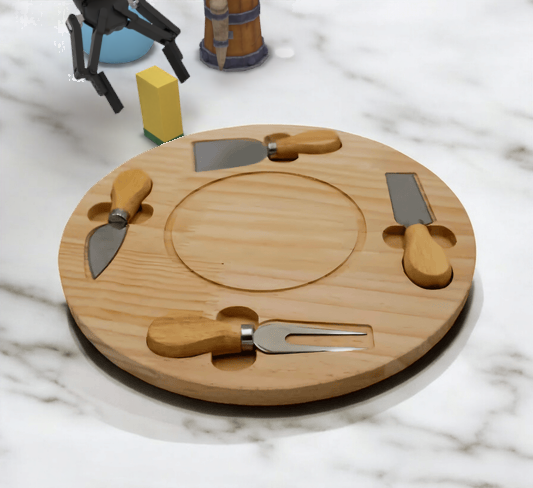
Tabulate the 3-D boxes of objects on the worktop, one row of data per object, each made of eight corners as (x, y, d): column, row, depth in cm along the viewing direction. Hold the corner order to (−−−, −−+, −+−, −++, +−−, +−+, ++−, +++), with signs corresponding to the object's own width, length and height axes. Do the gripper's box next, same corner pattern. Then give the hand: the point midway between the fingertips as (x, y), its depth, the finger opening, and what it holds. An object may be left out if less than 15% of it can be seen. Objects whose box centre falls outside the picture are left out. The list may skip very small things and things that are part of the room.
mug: (257, 88, 124) (257, -16, 110) (184, 81, 126) (174, -22, 112) (274, 40, 138) (275, -58, 124) (207, 34, 140) (201, -63, 126)
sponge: (144, 135, 113) (134, 73, 105) (163, 126, 115) (155, 64, 107) (165, 150, 110) (157, 88, 102) (184, 140, 112) (178, 78, 104)
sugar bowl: (107, 26, 142) (97, -27, 134) (168, 39, 138) (162, -15, 130) (68, 58, 132) (55, 3, 124) (133, 72, 128) (124, 16, 120)
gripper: (141, -32, 115) (202, 76, 118) (12, 12, 102) (83, 131, 105) (156, -55, 108) (220, 60, 111) (20, -11, 96) (96, 117, 99)
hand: (153, 95), depth 108 cm, fingers open, 13 cm apart
